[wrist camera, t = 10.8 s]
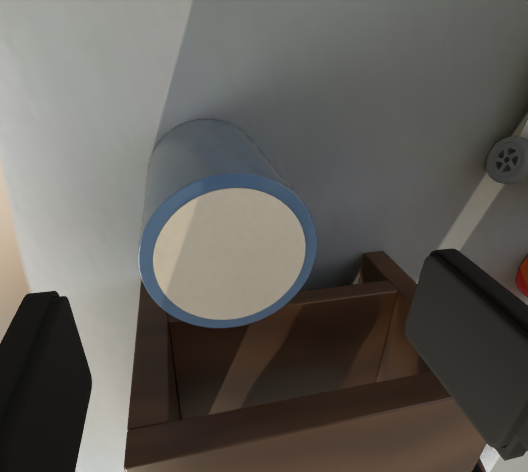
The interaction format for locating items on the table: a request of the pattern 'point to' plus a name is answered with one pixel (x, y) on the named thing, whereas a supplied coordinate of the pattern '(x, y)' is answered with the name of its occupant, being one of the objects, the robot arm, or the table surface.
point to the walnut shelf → (296, 389)
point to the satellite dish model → (509, 159)
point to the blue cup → (221, 229)
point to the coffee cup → (523, 277)
